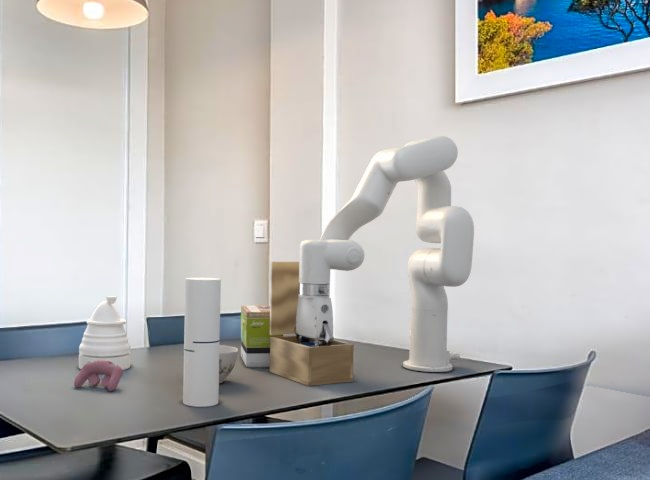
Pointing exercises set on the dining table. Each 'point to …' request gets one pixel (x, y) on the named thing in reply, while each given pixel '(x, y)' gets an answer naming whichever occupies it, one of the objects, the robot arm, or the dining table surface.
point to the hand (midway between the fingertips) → (312, 364)
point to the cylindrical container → (201, 341)
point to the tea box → (255, 335)
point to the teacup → (226, 361)
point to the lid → (283, 297)
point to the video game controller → (96, 368)
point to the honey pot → (105, 337)
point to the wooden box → (311, 361)
